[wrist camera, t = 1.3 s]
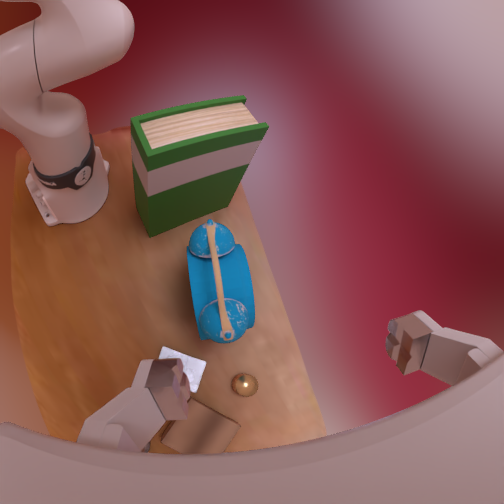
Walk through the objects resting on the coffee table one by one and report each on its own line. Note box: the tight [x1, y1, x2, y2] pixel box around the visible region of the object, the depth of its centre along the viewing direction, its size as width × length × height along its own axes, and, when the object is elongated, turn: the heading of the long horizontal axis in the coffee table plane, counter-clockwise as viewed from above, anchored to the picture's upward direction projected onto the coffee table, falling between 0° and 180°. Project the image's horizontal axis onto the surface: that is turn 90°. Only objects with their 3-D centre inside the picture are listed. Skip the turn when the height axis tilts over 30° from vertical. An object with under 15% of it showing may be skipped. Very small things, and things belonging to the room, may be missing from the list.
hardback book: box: [131, 95, 269, 238], centre depth 43 cm, size 18×7×24 cm, turn 121°
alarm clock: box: [187, 219, 255, 343], centre depth 40 cm, size 17×10×20 cm, turn 11°
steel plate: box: [159, 346, 206, 393], centre depth 43 cm, size 8×6×1 cm
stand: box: [161, 396, 241, 454], centre depth 39 cm, size 10×10×3 cm
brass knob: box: [232, 374, 258, 397], centre depth 44 cm, size 4×4×3 cm
